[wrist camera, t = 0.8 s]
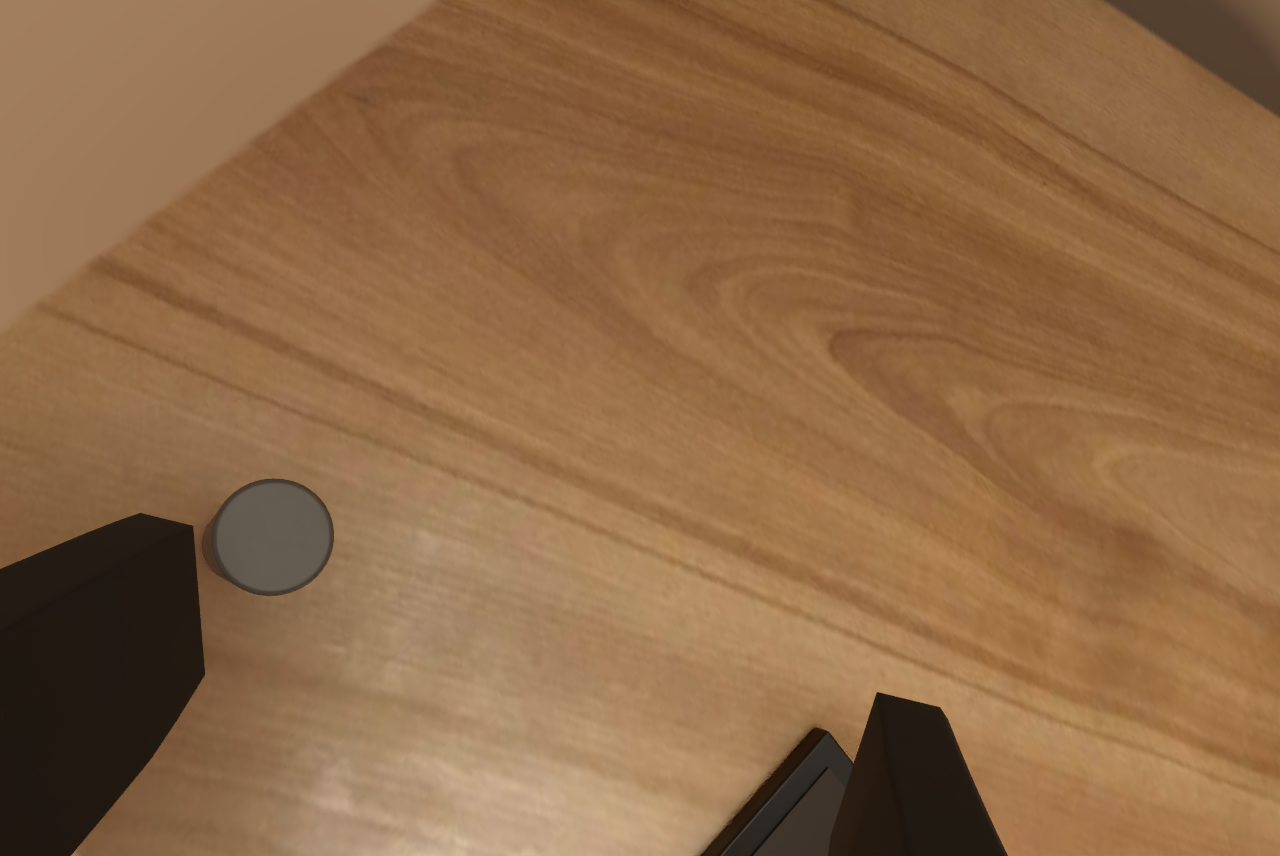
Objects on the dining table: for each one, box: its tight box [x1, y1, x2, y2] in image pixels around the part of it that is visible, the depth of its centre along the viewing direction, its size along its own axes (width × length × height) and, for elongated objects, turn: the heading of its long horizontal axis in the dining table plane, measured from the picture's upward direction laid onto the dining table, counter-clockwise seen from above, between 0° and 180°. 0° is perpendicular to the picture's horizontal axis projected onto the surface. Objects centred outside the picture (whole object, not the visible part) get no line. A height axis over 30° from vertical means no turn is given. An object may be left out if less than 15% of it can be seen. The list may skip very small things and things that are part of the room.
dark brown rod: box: [201, 479, 334, 596], centre depth 19 cm, size 2×2×11 cm
